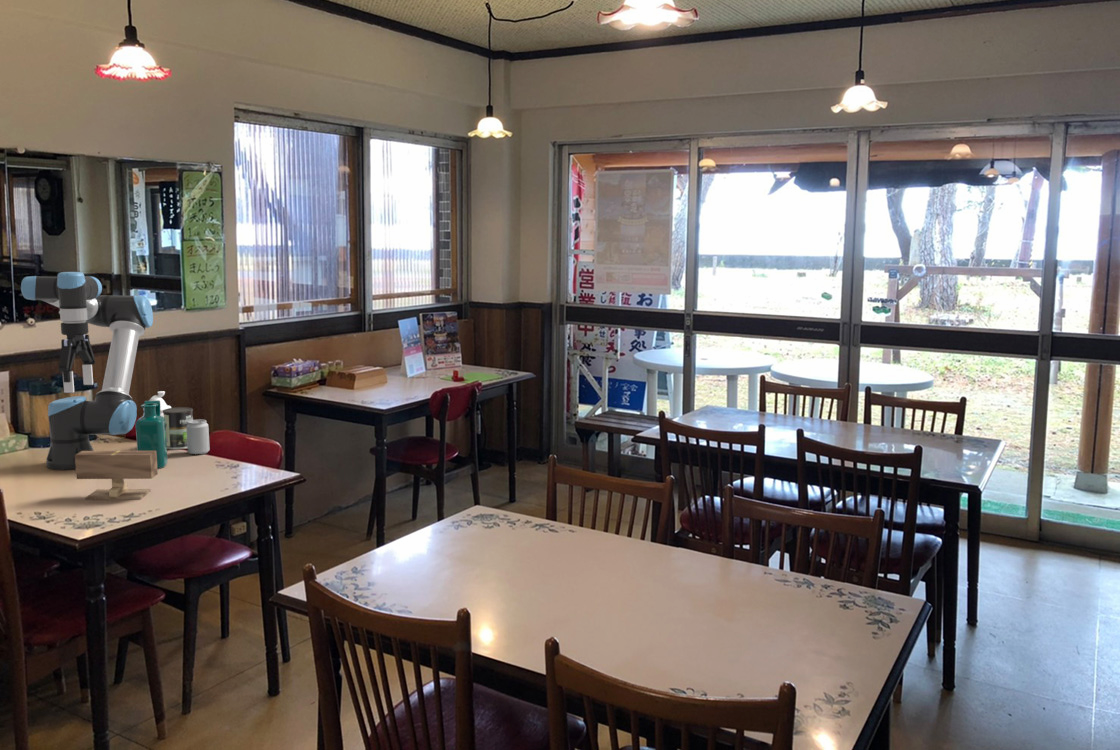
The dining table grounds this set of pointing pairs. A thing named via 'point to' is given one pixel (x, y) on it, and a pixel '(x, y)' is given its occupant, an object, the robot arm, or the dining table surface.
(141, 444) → the green bottle
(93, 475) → the beam
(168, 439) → the coffee can
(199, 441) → the can
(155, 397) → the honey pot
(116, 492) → the fulcrum
